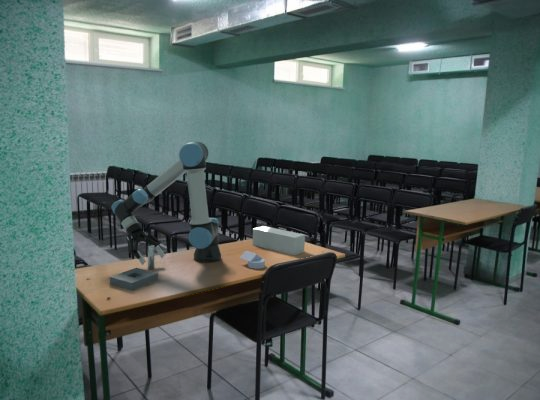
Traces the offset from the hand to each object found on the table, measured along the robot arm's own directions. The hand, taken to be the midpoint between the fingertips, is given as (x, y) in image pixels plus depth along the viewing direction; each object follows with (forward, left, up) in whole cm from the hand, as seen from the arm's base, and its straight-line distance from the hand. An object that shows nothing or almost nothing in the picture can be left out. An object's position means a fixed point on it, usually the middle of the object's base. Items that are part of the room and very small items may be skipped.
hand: (153, 259), depth 220 cm
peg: (0, -2, -5) cm, 5 cm away
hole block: (+19, +6, -5) cm, 20 cm away
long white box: (-72, +33, -5) cm, 80 cm away
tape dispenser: (-35, +38, -5) cm, 52 cm away
